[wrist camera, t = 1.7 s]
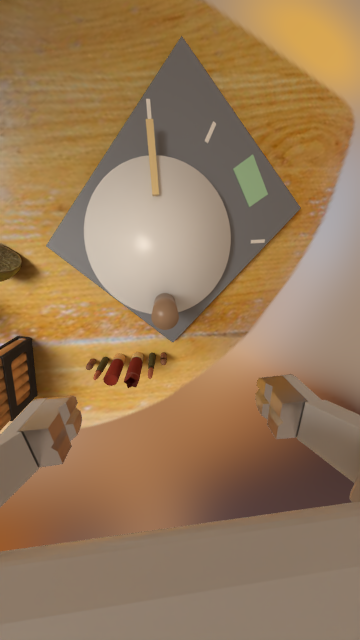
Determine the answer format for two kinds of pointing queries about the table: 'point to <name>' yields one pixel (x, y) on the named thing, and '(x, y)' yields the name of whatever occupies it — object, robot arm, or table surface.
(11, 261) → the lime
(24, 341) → the ammunition clip
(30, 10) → the table surface
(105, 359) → the ammunition
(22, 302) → the table surface
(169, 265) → the dial
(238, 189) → the dial plate
